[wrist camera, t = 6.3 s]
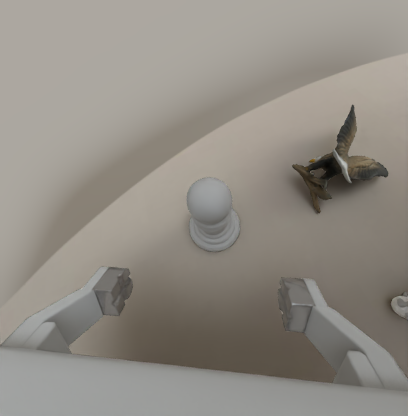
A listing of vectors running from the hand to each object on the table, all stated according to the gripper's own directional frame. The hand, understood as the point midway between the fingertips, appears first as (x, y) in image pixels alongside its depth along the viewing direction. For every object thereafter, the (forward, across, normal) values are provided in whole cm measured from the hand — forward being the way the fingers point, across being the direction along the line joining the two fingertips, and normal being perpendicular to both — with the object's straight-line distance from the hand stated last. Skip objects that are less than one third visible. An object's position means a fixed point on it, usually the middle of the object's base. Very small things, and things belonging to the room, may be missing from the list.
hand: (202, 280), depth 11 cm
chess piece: (+10, 0, +3) cm, 11 cm away
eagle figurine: (+11, -9, -2) cm, 14 cm away
